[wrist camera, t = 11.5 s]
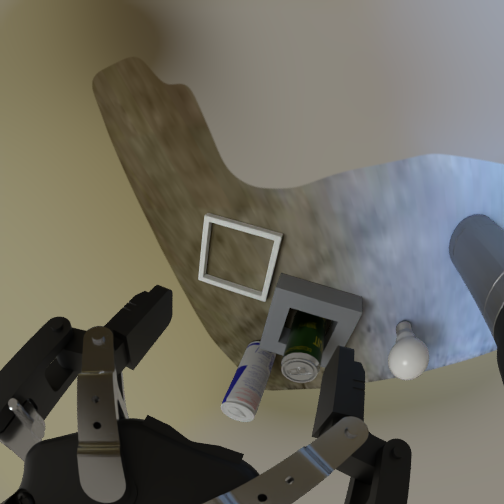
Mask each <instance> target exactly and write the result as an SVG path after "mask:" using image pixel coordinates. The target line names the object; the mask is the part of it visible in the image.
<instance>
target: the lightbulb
mask: <svg viewBox="0 0 504 504" xmlns="http://www.w3.org/2000/svg"><path fill="white" fill-rule="evenodd" d="M396 334H397V338H396V343H395V345H394V346H393V347H392V349H391V351H390V353H389V357H388V365H389V369H390V371H391V372H392V374H393V375H394V376H395V377H397V378H399V379H402V380H412V379H414V378H417V377H418V376H420V375H421V374H422V373H423V372H424V371H425V369H426V368H427V365H428V362H429V351H428V348H427V346H426V345H425V343H424V342H423V341H421V340H420V339H418V338H416V337H415V335H414V334H413V332H412V328H411V324H410V323H409V322H407V321H403V322H400V323H399V324H398V325H397V326H396Z"/></svg>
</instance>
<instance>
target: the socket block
mask: <svg viewBox="0 0 504 504" xmlns="http://www.w3.org/2000/svg"><path fill="white" fill-rule="evenodd" d="M289 308H293V309H296V310H299V311H303V312H306V313H309V314H313V315H316V316H320V317H323V318H327V319H330V320H333V321H332V323H331V325H330V328H329V330H328V332H327V334H326V336H325V339H324V346H323V353H322V360H321V367H325V368H326V366H327V364H328V362H329V360H330V359H331V357H332V355H333V353H334V351H335V350H336V348H337V346H338V345H340V346H343V347H345V345H346V343H347V341H348V340H349V338H350V336H351V334H352V332H353V330H354V328H355V326H356V324H357V323H358V321H359V319H360V317H361V315H362V297H360V296H357V295H354V294H350V293H347V292H343V291H340V290H337V289H333V288H330V287H327V286H323V285H320V284H316V283H313V282H310V281H306V280H303V279H300V278H297V277H293V276H290V275H287V274H283V273H281V275H280V278H279V280H278V283H277V285H276V288H275V292H274V295H273V299H272V303H271V306H270V310H269V313H268V317H267V320H266V324H265V327H264V331H263V334H262V338H261V341H260V345H259V348H261V349H264V350H267V351H270V352H273V353H276V354H280V355H284V351H285V348H286V344H287V341H288V337H289V334H290V330H291V329H290V328H286V327H283V326H284V323H285V320H286V317H287V314H288V311H289Z"/></svg>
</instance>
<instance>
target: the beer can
mask: <svg viewBox="0 0 504 504" xmlns="http://www.w3.org/2000/svg"><path fill="white" fill-rule="evenodd" d="M326 324H327V318H323V317H320V316H316V315H313V314H309V313H306V312H303V311H299V310H298V311H297V312H296V314H295V316H294V320H293V323H292V327H291V330H290V334H289V337H288V341H287V344H286V348H285V351H284V355H283V358H282V362H281V366H282V368H281V371H282V374H283V375H284V376H285V377H286V378H287V379H289V380H291V381H294V382H298V383H305V382H310V381H312V380H314V379H315V378H316V376H317V373H318V372H319V370H320V366H321V360H322V353H323V346H324V339H325V332H326Z"/></svg>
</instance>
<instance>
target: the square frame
mask: <svg viewBox="0 0 504 504" xmlns="http://www.w3.org/2000/svg"><path fill="white" fill-rule="evenodd" d="M212 223H215V224H219V225H222V226H226V227H229V228H233V229H236V230H240V231H243V232H247V233H250V234H254V235H257V236H261V237H264V238H268V239H271V240H275V241H274V246H273V250H272V254H271V258H270V262H269V267H268V271H267V275H266V279H265V283H264V287H263V291H262V292H261V291H258V290H254V289H251V288H248V287H245V286H242V285H239V284H236V283H233V282H230V281H227V280H223V279H220V278H217V277H214V276H211V275H208V274H206V270H207V260H208V251H209V242H210V234H211V225H212ZM282 236H283V234H282V233H279V232H275V231H272V230H268V229H265V228H261V227H258V226H254V225H250V224H247V223H243V222H240V221H236V220H232V219H229V218H225V217H222V216H218V215H214V214H211V213H207V214H206V215H205V217H204V226H203V236H202V246H201V256H200V267H199V279H198V280H201V281H203V282H206V283H209V284H212V285H215V286H218V287H221V288H224V289H227V290H230V291H233V292H236V293H239V294H242V295H245V296H248V297H252V298H255V299H258V300H261V301H264V302H265V301H266V299H267V295H268V292H269V288H270V284H271V280H272V276H273V272H274V268H275V264H276V260H277V256H278V252H279V248H280V244H281V240H282Z"/></svg>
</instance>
